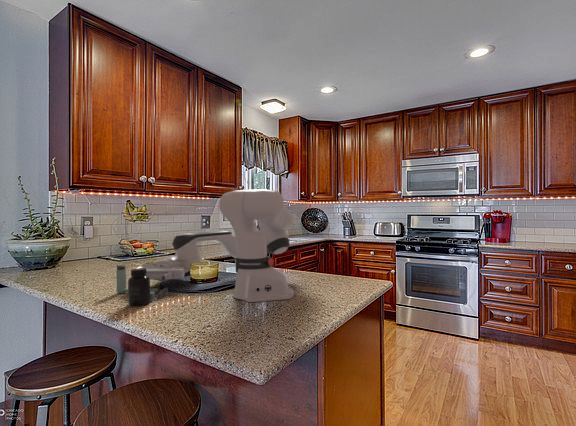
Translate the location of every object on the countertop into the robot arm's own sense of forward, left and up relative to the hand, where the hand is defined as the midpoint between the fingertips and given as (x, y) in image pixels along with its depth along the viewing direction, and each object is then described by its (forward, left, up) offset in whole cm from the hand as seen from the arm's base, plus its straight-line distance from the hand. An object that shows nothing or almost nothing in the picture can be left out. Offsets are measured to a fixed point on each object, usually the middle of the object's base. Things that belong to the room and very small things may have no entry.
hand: (151, 277), depth 122 cm
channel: (0, +2, -7) cm, 7 cm away
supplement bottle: (0, +11, -7) cm, 13 cm away
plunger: (+5, +1, -6) cm, 8 cm away
